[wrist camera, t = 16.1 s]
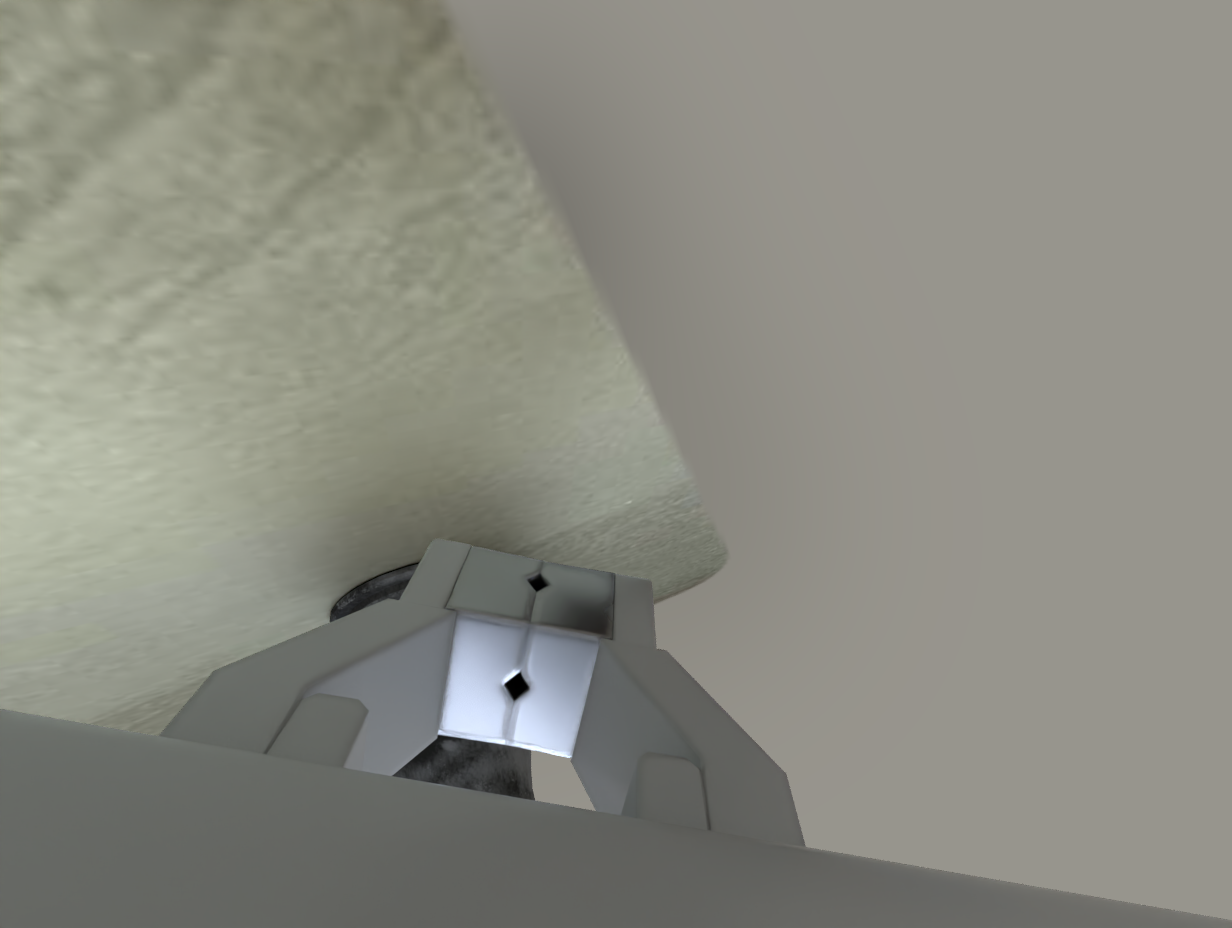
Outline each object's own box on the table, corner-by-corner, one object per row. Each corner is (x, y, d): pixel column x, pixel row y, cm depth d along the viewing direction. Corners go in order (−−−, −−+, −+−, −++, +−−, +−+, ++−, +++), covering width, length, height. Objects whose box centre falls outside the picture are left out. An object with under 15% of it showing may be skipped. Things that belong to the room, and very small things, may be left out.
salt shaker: (491, 630, 23) (596, 1082, 18) (299, 654, 20) (353, 1218, 14) (569, 545, 19) (735, 1095, 14) (343, 558, 16) (442, 1290, 10)
